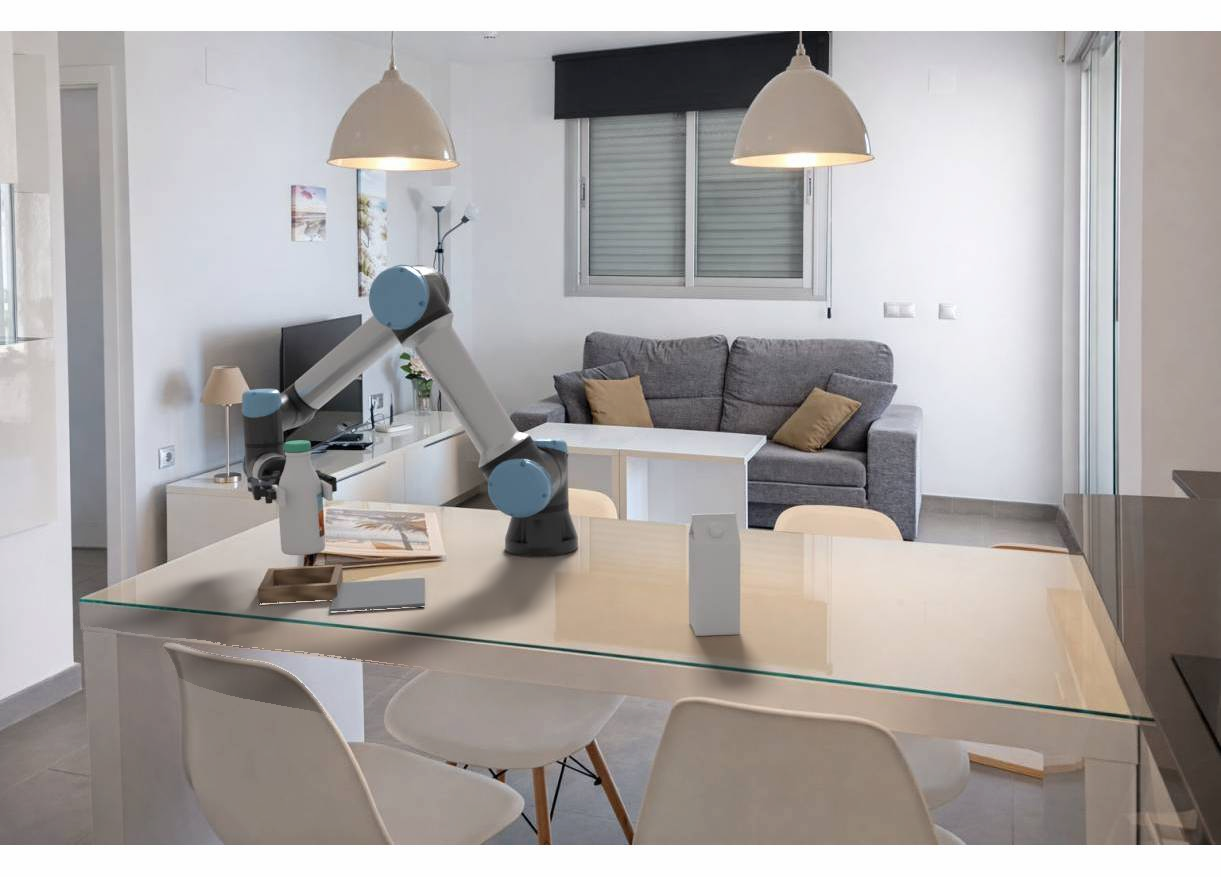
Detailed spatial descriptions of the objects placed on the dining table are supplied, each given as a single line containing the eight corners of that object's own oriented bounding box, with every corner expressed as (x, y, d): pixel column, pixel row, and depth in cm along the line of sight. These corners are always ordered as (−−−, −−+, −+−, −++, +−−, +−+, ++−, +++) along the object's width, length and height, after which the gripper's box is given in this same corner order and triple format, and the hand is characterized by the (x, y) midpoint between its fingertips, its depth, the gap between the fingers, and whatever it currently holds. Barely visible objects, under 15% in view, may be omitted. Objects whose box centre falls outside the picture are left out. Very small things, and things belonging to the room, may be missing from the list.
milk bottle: (313, 557, 196) (307, 445, 193) (273, 555, 198) (266, 444, 194) (332, 546, 204) (327, 438, 200) (294, 544, 205) (287, 437, 202)
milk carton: (688, 622, 182) (688, 509, 179) (731, 620, 183) (731, 508, 180) (695, 637, 175) (695, 519, 172) (740, 635, 176) (740, 518, 173)
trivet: (424, 581, 207) (424, 577, 207) (424, 607, 192) (424, 603, 192) (337, 587, 205) (337, 582, 205) (330, 613, 189) (329, 609, 189)
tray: (342, 579, 210) (342, 564, 209) (337, 600, 197) (336, 584, 196) (269, 584, 207) (268, 568, 207) (259, 605, 194) (258, 589, 194)
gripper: (330, 488, 220) (364, 509, 200) (223, 500, 210) (248, 524, 190) (328, 451, 219) (362, 468, 199) (220, 461, 209) (245, 481, 189)
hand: (306, 495), depth 195 cm, fingers closed on milk bottle, 7 cm apart
